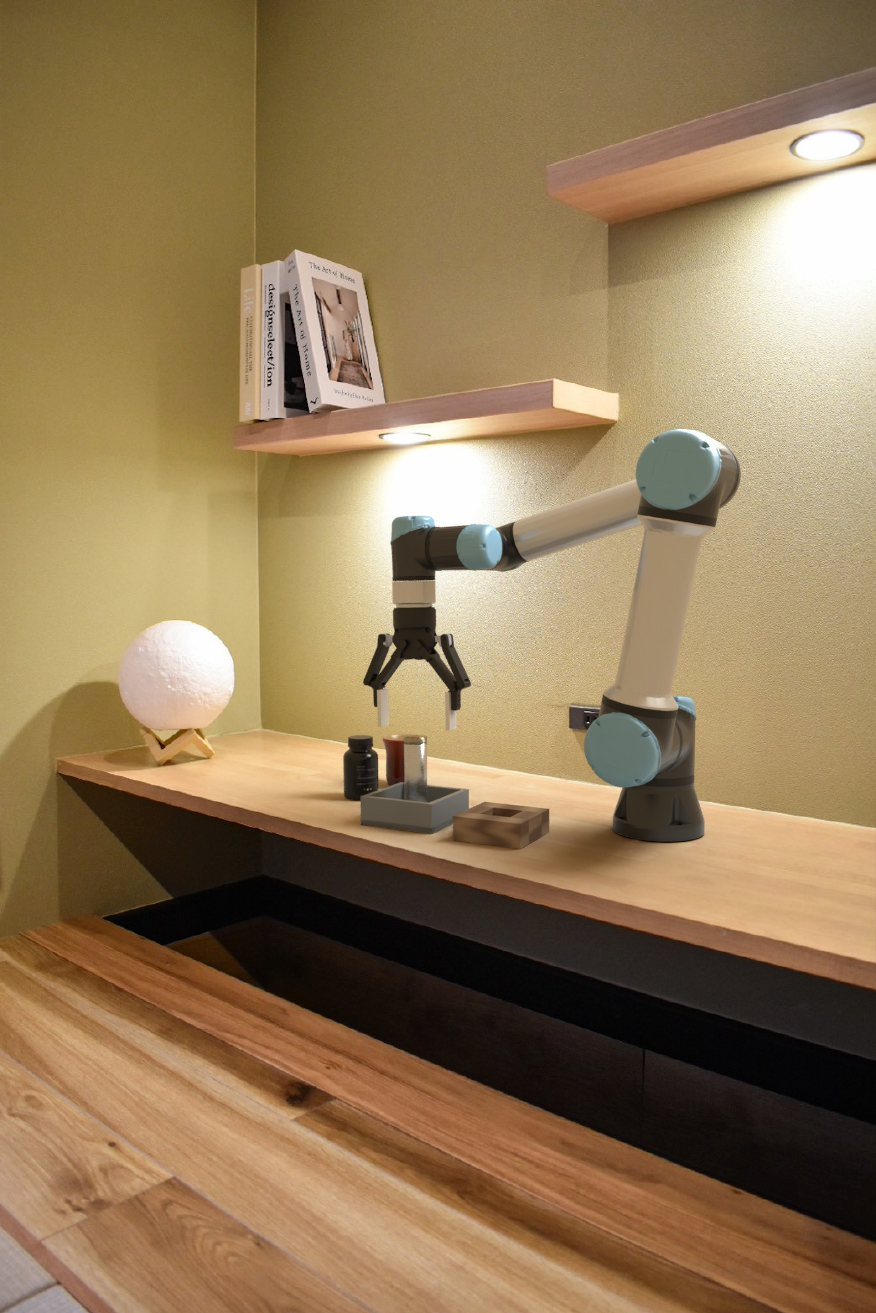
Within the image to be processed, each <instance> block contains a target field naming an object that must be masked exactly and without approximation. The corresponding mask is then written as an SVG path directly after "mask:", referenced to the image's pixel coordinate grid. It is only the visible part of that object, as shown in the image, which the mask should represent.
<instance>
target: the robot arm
mask: <svg viewBox="0 0 876 1313" xmlns="http://www.w3.org/2000/svg"><path fill="white" fill-rule="evenodd" d="M741 477H742V472H741V465H740V461H739V459H738V456H737V455H736V454H735V453H734V451H733V450H732V449H731V447H729V446H728V445H726V444H725V443H723V441H720V440H717V439H714V438H712V437H710V436H709V435H708V434H706V433H704V432H702V431H699V430H693V429H685V428H684V429H683V428H678V429H670V430H667V431H664V432H662V433H660V434H658V435H656V436H655V437H654V438H653V439H651V440H650V441H649V442H648V443H647V444H646V445H645V447H644V448H643V449H642V451H641V453H640V455H639V457H638V459H637V462H636V468H635V479H633V480H630V481H627V482H623V483H621V484H619V485H615V486H613V487H610V488H607V489H603V490H600V491H598V492H595V493H592V494H590V495H587V496H584V497H581V498H578V499H575V500H571V501H570V502H566V503H563V504H561V505H558V506H555V507H553V508H549V509H547V510H544V511H543V510H542V511H541V512H538V513H535V514H532V515H529V516H527V517H524V518H521V519H517V520H515V521H512V522H509V523H506V524H504V525H500V526H498V527H495V526H494V525H492V524H481V523H478V524H477V523H471V524H465V525H452V526H436V524H435V519H434V518H433V516H430V515H405V516H404V515H403V516H397V517H396V518H394V519H393V520H392V523H391V534H390V536H391V538H390V539H391V540H390V547H391V548H390V550H391V566H392V567H391V568H392V569H391V572H392V578H391V579H392V582H391V586H392V587H391V588H392V589H391V590H392V592H391V594H392V596H391V598H392V604H393V605H396V606H395V607H393V609H392V627H393V634H390V633H386V632H385V633H379V634H378V635H377V644H376V649H375V651H374V653H373V655H372V658H371V661H370V663H369V665H368V668H367V670H366V674H365V675H364V677H363V681H362V683H363V685H364V686H368V687H370V688H372V692H373V693H372V694H373V707H374V708H377V727H379V728H380V727H381V728H382V727H387V726H390V701H389V699H390V695H389V694H390V693H389V692H390V691H389V688H387V686H386V684H388V682H389V681H390V680H391V678H392V677H393V675H394V674H395V672H396V671H397V670H398V668H399V667H400V665H401V664H402V662H404V661H405V660H406V661H407V660H408V661H409V660H416V661H421V660H423V661H425V662H427V663H428V664H429V665H430V667H432V669H433V671H434V672H435V674H436V675H437V676H438V677H439V679H440V680H441V681H442V683H443V684H444V685H445V686H446V687H447V689H448V690H447V691H446V692H445V693H444V704H445V706H444V707H445V709H444V710H445V731H453V730H456V729H458V714H457V712H458V711H460V710H461V708H462V702H461V701H462V696H461V694H462V690H464V689H467V688H470V687H471V686H472V682H471V680H470V677H469V676H468V673H467V670H466V669H465V667H464V665H463V662H462V660H461V658H460V656H459V654H458V651H457V650H456V648H455V643H454V636H453V634H452V633H442V634H441V635H437V632H436V630H437V629H436V628H437V609H436V607H435V606H433V604H435V603H436V599H437V598H436V597H437V596H436V572H442V571H475V572H476V571H491V572H494V571H495V572H501V573H503V572H510V571H514V570H516V569H519V568H520V567H521V566H523V565H524V564H527V563H529V562H531V561H533V560H537V559H540V558H544V557H546V556H550V555H552V554H556V553H559V552H562V551H565V550H569V549H572V548H575V547H578V546H581V545H584V544H587V543H590V542H591V543H592V542H593V541H597V540H600V539H604V538H606V537H610V536H613V535H616V534H618V533H622V532H626V531H629V530H631V529H635V528H639V527H641V526H643V528H644V530H643V531H644V532H643V537H642V541H641V542H642V543H641V548H640V552H639V557H638V564H637V568H636V574H635V578H634V584H633V589H632V595H631V599H630V605H629V608H628V615H627V620H626V625H625V630H624V635H623V642H622V646H621V651H620V656H619V661H618V667H617V671H616V677H615V682H613V684H612V685H610V686H609V687H607V688H605V689H604V690H603V693H602V696H601V703H600V708H599V713H598V717H597V718H596V719H594V720H592V723H591V724H590V725H589V727H588V729H587V730H586V733H585V735H584V736H585V737H584V740H583V744H584V745H583V749H584V750H583V751H584V755H585V759H586V762H587V764H588V765H589V766H590V768H591V770H592V771H593V773H594V774H595V775H596V776H597V777H598V778H599V779H601V780H602V781H603V782H605V783H607V784H609V785H611V786H613V787H617V788H618V787H619V788H621V790H620V794H619V796H618V800H617V801H616V802H617V803H616V805H615V808H614V811H613V814H612V831H613V832H614V833H616V834H617V835H620V836H623V837H625V838H626V837H627V838H629V839H635V840H641V841H650V842H682V841H690V840H697V839H699V838H701V837H703V836H704V835H705V827H706V826H705V823H706V821H705V818H704V814H703V811H702V808H701V804H700V802H699V798H698V795H697V792H696V789H695V772H696V771H695V764H696V762H695V759H696V756H695V755H696V721H697V714H696V704H695V702H694V700H693V699H692V698H690V697H689V696H688V697H687V696H677V695H676V696H674V695H672V691H673V685H674V679H675V675H676V670H677V665H678V661H679V656H680V650H681V647H682V640H683V636H684V631H685V625H686V621H687V616H688V610H689V606H690V601H691V597H692V592H693V587H694V582H695V578H696V577H695V576H696V572H697V566H698V561H699V556H700V552H701V546H702V543H703V542H702V541H703V539H704V538H705V537H706V536H707V535H709V534H711V533H712V532H713V531H715V530H716V526H717V522H718V517H719V512H720V511H719V510H720V509H722V508H724V507H725V506H727V504H728V503H730V501H732V500H733V499H734V497H735V496H736V493H737V492H738V490H739V486H740V484H741ZM437 644H438V646H439V647H440V648H441V651H442V653H443V655H444V658H445V659H446V662H447V664H448V666H449V667H448V666H447V665H446V663H445V662H444V660H443V659H442V658H441V655H440V654H439V652H438V651H437V649H436V646H437ZM392 645H394V647H395V650H394V651H393V653H391V655H390V658H389V660H388V661H387V663H386V665H384V662H385V660H386V658H387V656H388V653H389V650H390V647H391V646H392ZM383 666H384V667H383ZM449 668H450V669H449Z"/></svg>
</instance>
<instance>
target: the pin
mask: <svg viewBox="0 0 876 1313" xmlns="http://www.w3.org/2000/svg"><path fill="white" fill-rule="evenodd" d="M427 785H428V736H427V735H425V734H414V735H406V736H404V800H409V801H418V802H427Z"/></svg>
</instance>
